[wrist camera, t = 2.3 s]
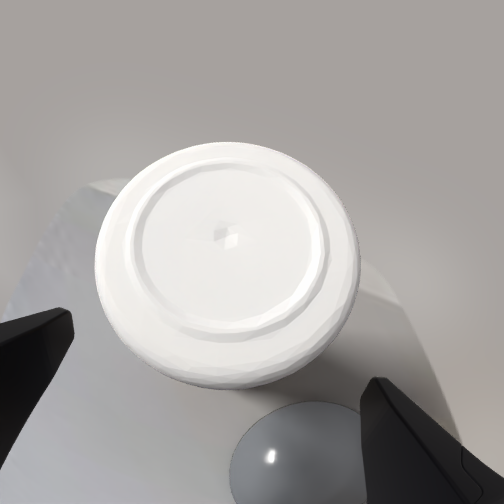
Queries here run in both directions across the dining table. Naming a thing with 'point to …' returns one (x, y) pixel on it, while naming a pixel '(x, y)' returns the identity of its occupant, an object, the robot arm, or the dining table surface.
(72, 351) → the dining table surface
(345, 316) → the sprinkles bottle
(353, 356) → the dining table surface
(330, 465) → the coaster
